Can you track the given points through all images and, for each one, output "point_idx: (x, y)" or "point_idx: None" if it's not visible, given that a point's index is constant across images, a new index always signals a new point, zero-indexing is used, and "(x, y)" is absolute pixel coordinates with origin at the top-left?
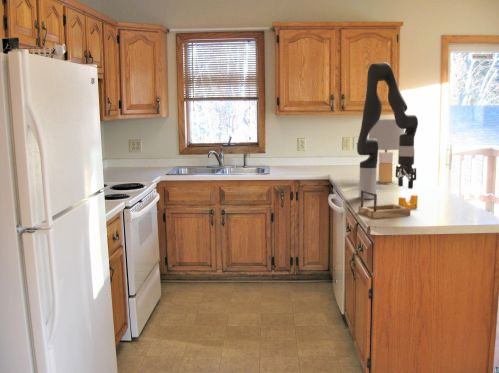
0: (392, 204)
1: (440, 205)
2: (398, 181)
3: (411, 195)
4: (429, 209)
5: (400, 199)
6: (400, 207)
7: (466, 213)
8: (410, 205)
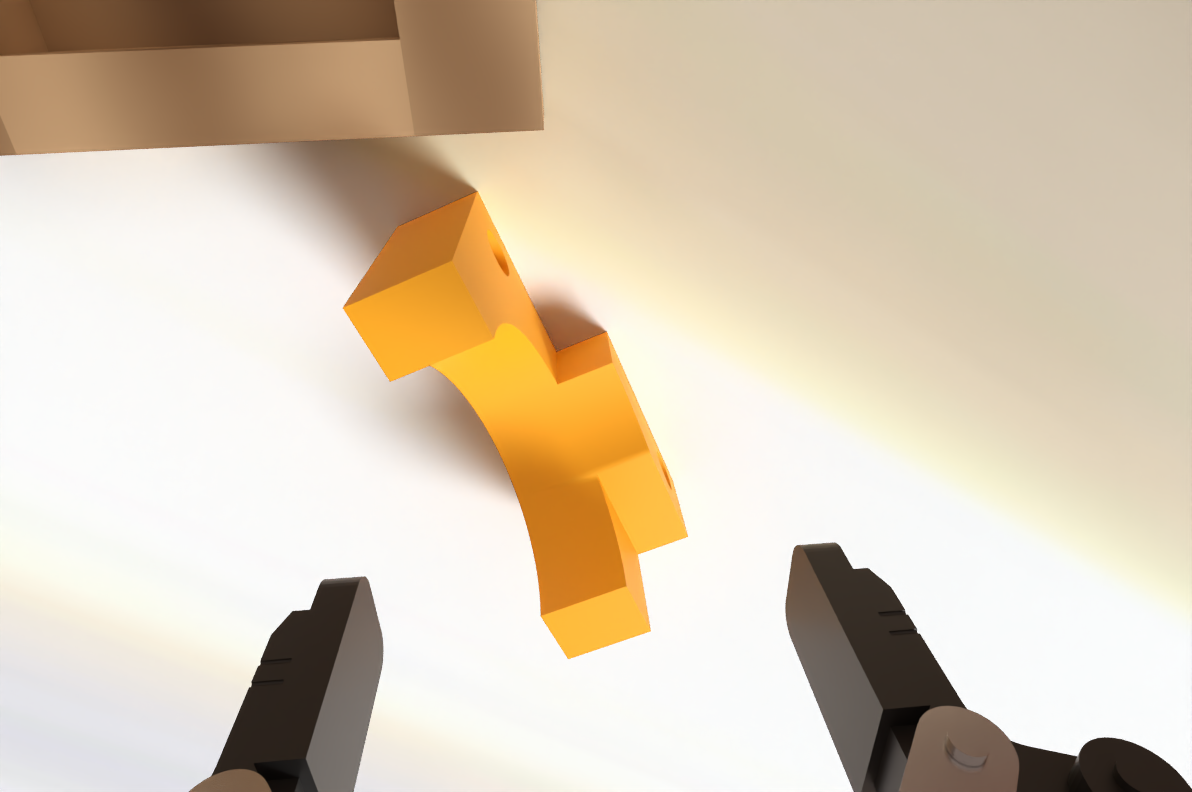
0: (448, 69)
1: (596, 762)
2: (886, 639)
3: (616, 588)
4: (412, 590)
5: (412, 268)
6: (83, 53)
7: (126, 779)
8: (491, 429)
